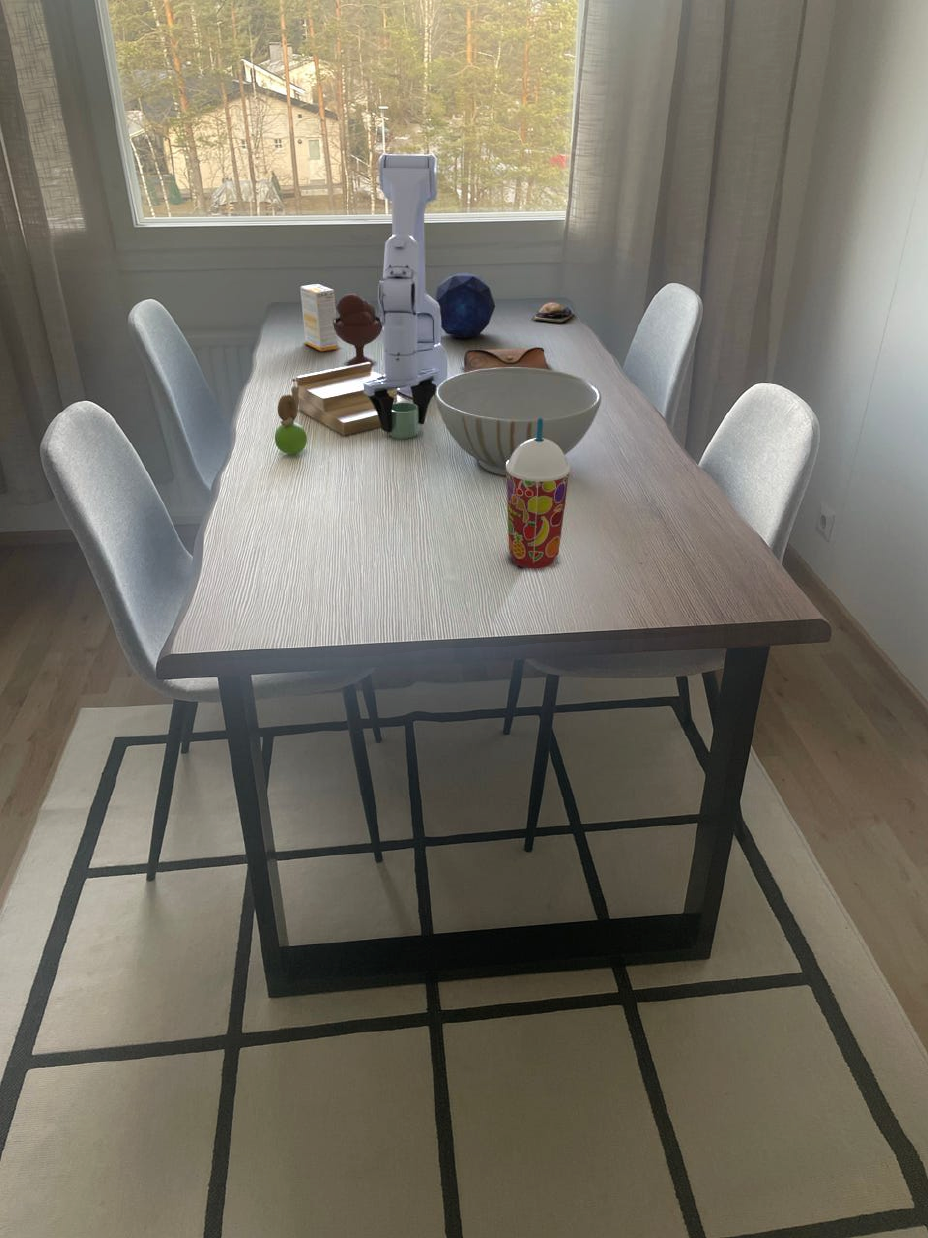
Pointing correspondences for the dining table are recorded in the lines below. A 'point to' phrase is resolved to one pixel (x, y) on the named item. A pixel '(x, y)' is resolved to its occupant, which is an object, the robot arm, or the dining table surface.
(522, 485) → the smoothie
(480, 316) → the decorative orb
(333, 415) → the shelf
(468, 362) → the sunglasses case
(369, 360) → the ice cream bowl
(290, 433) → the snail figurine
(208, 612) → the dining table surface
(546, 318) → the sandwich
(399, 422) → the green cup
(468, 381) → the decorative bowl
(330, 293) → the supplement box
